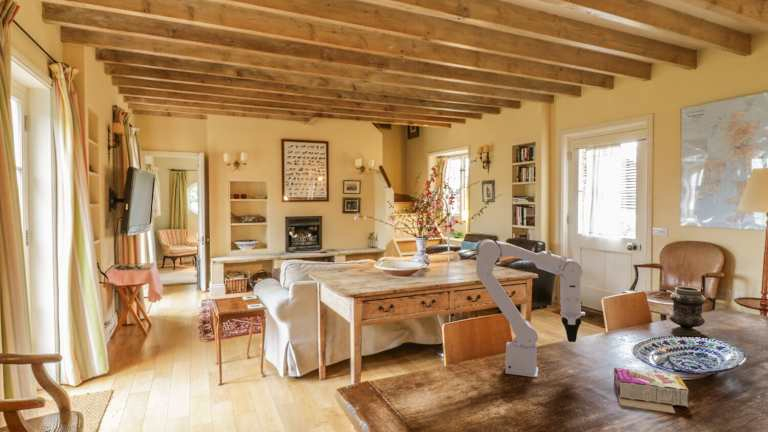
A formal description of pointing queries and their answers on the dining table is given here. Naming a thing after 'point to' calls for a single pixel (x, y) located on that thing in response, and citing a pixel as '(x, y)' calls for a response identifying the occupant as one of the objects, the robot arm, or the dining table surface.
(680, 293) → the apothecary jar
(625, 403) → the placemat
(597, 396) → the dining table surface
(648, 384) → the candy bar box
